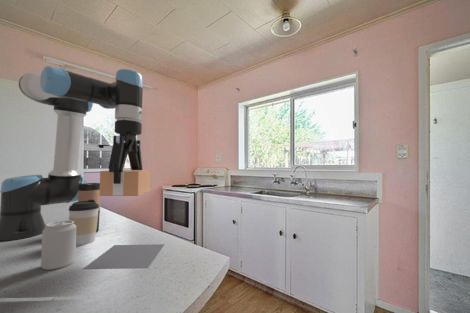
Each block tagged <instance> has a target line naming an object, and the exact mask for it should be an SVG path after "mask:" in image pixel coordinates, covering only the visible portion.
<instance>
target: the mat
mask: <svg viewBox="0 0 470 313" xmlns="http://www.w3.org/2000/svg"><path fill="white" fill-rule="evenodd" d="M165 245H166V244H164V243H163V244H159V243H158V244H153V243H152V244H113V246H111V247H110V248H109V249H107V250H106V251H105V252H103V253H102V254H100V255H99V256H98V257H97V258H95V259H94V260H93V261H91V262H90V263H89V264H87V265H86V266H84V267H83V268H82V270H113V269H114V270H115V269H116V270H118V269H121V270H122V269H149V267H150V266H151V264H152V263H153V262H154V260H155V259H156V258H157V256H158V255H159V253H160V252H161V251H162V250H163V247H164V246H165Z"/></svg>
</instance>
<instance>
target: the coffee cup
mask: <svg viewBox="0 0 470 313" xmlns="http://www.w3.org/2000/svg"><path fill="white" fill-rule="evenodd" d="M98 208H99V204H96V202H95V201H94V200H88V201H80V202H78V201H74V202H72V204H71V205H69V207H68V213H69V214H68V215H69V216H68V220H71V221H74V223H73V224H75V225H76V248H78V246H85V245H89V244H92V243H94V242H95V241H96V233H97V232H96V229H97V221H98Z"/></svg>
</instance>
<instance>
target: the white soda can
mask: <svg viewBox="0 0 470 313" xmlns="http://www.w3.org/2000/svg"><path fill="white" fill-rule="evenodd" d="M73 223H74V221H71V220H69V219H67V220H66V219H65V220H59V221H58V220H57V221H56V220H55V221H52V222H49V223H45V225H46V228H45V229H44V230H43V231H42V233H41V251H40V252H41V253H40V254H41V255H40V256H41V257H40V258H41V260H40V267H41V269H43V270H45V271H46V270H47V271H49V270H57V269H62V268H64V267H68V266H70V265H72V264H73V263H75V261H76V258H77V257H76V253H77V252H76V251H77V250H76V248H77V247H76V225H75V224H73Z"/></svg>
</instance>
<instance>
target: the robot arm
mask: <svg viewBox="0 0 470 313" xmlns="http://www.w3.org/2000/svg"><path fill="white" fill-rule="evenodd" d="M143 88H144V85H143V76H142V74H141V73H139V72H138V71H135V70H133V69H128V68H120V69H118V70H117V71H116V74H115V81H113V82H107V81H103V80H100V79H97V78H93V77H89V76H85V75H82V74H79V73H76V72H72V71H70V70H66V69H64V68H60V67H55V66H52V65H47V66H44V68H43V69H42V71H41V73H38V72H30V73H26V74H24V75H22V76H20V78H19V80H18V89H19V91H20V92H21V93H22V94H23V95H24V96H25V97H27V98H28V99H30V100H31V101H34V102H37V103H39V104H43V105H48V106H53V112H55V114H57V120H56V121H57V123H56V132H55V134H56V135H55V142H54V143H55V144H54V154H53V155H54V157H53V158H54V159H53V168H52V170H50V171H49V172H48V173H47V177H43V175H42V174H31V175H20V176H15V177H13V176H12V177H8V178H5V179H4V180H3V181H2V182H1V186H0V241H1V242H2V241H3V242H4V241H6V242H7V241H15V240H22V239H26V238H30V237H35V236H39V235H42V231H43V230H44V229H45V228H46V223H45V221H44V218H43V215H42V211H41V210H42V207H43V206H47V205H57V204H69V203H75V202H78V193H79V184H80V185H81V184H84V183H86V179H85V177H84V176H82V174H81V172H80V171H79V170H78V168H79V167H78V166H79V156H80V154H79V153H80V143H81V133H82V132H81V131H82V121H83V118H84V117H86V116H87V113H88V112H91V111H92V109H93V105H94V104H96V105H99V106H100V107H102V108H103V109H107V110H108V109H112V110H113V109H114V120H116V121H114V133H115V134H117V135H113V137H112V138H113V139H112V140H113V141H112V142H113V143H112V147H111V152H110V154H111V155H110V157H109V158H110V159H109V163H108V171H109V172H113V196H112V197H124V196H123V195H124V172H122V171H123V170H124V168H125V163H126V162H127V157H128V161H129V164H130V170H143V163H142V152H141V151H142V150H141V140H137V136H139V135H141V134H142V131H143V130H142V128H143V125H142V123H141V122H142V120H143V116H142V115H143V114H144V111H143V94H144V93H143V92H144V91H143Z"/></svg>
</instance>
